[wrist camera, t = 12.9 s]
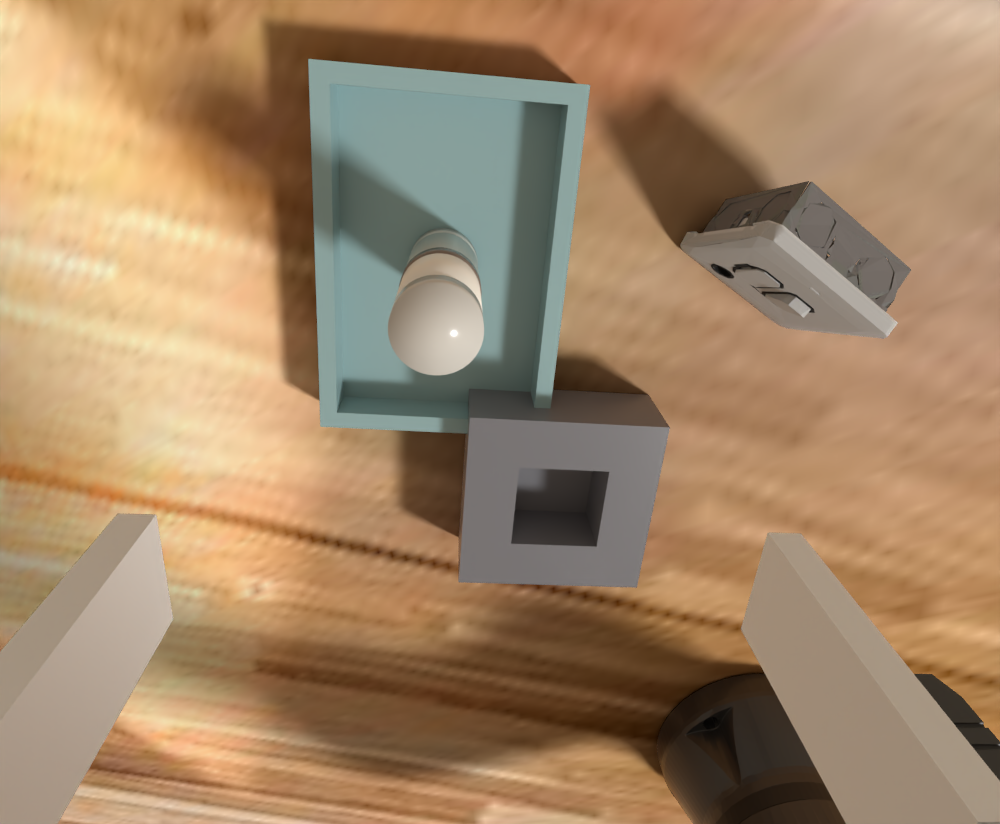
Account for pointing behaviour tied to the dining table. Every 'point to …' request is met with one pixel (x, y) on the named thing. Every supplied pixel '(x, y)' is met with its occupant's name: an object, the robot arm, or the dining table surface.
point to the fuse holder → (558, 487)
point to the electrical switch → (801, 261)
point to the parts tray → (438, 204)
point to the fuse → (438, 305)
